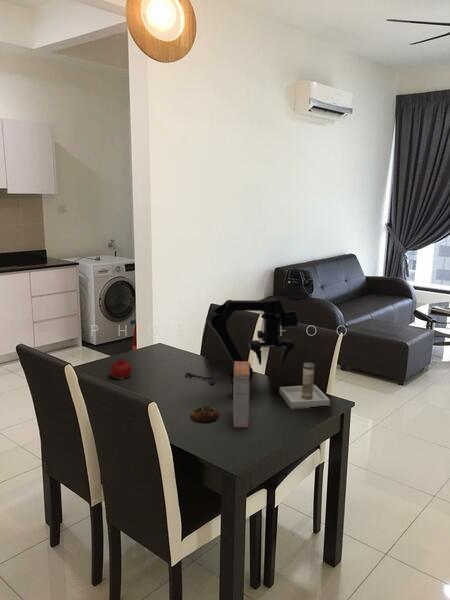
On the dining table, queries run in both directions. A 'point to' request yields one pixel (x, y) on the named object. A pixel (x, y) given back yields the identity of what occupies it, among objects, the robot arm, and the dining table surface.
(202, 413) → the bread roll
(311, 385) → the handle post
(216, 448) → the dining table surface
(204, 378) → the dark grey t-shape
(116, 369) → the pomegranate
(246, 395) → the cracker box
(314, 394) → the tray
